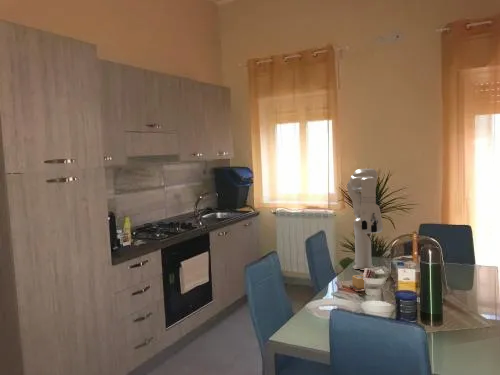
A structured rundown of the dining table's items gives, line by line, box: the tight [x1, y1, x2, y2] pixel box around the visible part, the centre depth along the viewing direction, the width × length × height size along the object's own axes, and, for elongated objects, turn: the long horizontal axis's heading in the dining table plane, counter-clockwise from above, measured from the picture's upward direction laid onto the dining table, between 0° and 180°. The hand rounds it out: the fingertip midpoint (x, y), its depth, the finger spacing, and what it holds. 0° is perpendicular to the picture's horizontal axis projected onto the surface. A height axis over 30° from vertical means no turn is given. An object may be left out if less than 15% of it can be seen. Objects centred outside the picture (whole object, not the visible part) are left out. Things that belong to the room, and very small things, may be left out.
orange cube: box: [351, 274, 365, 288], centre depth 210 cm, size 6×6×5 cm
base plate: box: [349, 284, 364, 290], centre depth 210 cm, size 8×8×2 cm
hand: (369, 230), depth 221 cm, fingers open, 9 cm apart
